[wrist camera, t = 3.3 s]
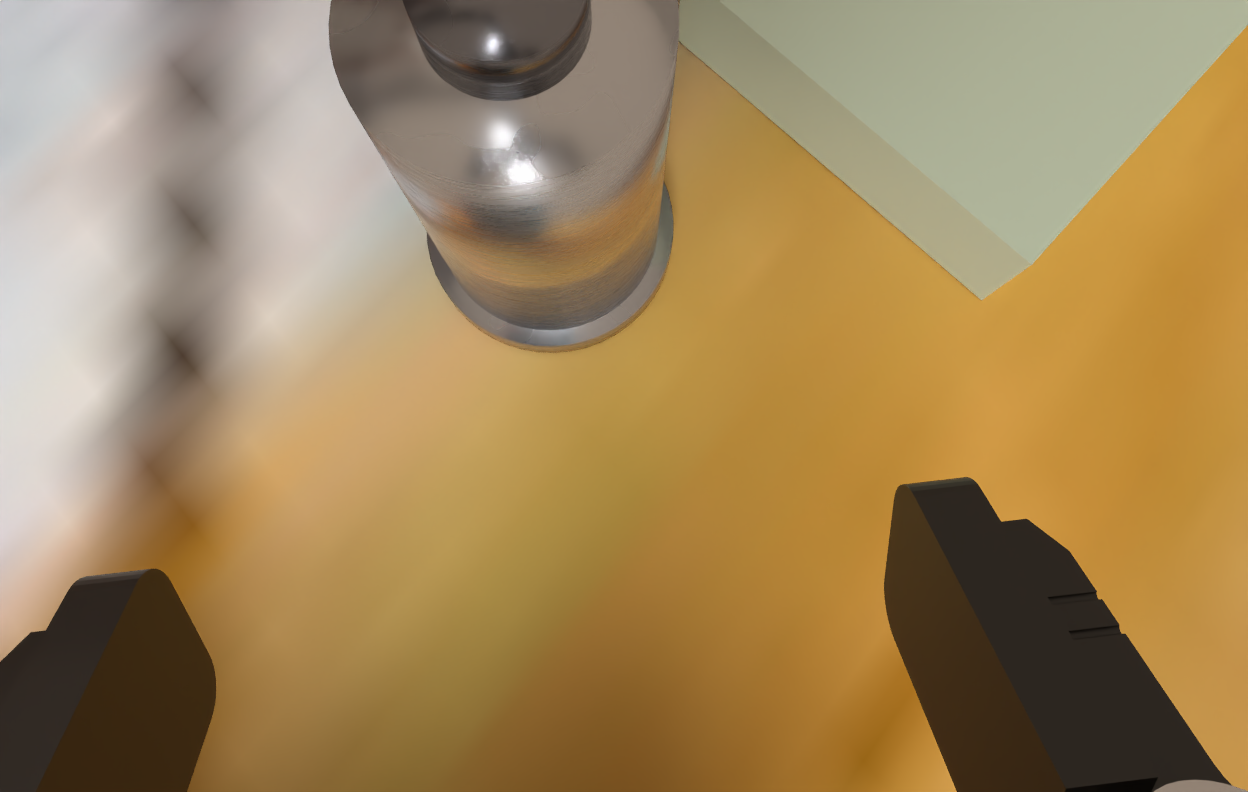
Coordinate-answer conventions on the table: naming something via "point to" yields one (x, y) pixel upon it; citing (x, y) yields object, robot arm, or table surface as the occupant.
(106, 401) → the table surface
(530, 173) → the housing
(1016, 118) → the green plinth
